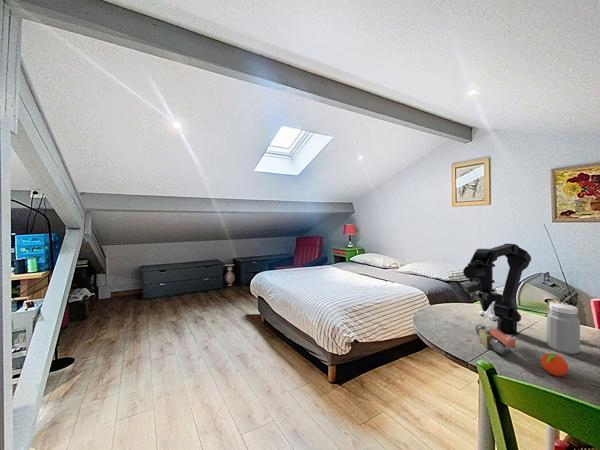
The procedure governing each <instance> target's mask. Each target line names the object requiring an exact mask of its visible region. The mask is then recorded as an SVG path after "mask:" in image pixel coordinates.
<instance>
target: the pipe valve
mask: <svg viewBox="0 0 600 450" xmlns="http://www.w3.org/2000/svg"><path fill="white" fill-rule="evenodd" d="M486 327H487V326H484V325H481V324H478V325H476V326H475V327H474V328H475V329H474V331H475V334H476V335H477V336H478V342H479V341H480V342H481V343H482V344H483V345H484V346H485V347H486V348H485V347H484V346H483V345H482V344H481V343H480V342H479V343H480V344H481V345H482V346H483V347H484V348H485V349H487V348H489V350H494V351H495V352H496V353H497V354H500V355H502V356H508V355H509V354H510V353H511V348H509V347H507V346H506V345H505V344H504V343H502V342H501V341H500V340H498V339H497V338H496V337H494V336H493V335H492V334H490V333H487V332H486V331H485V328H486Z"/></svg>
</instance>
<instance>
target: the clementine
mask: <svg viewBox="0 0 600 450" xmlns="http://www.w3.org/2000/svg"><path fill="white" fill-rule="evenodd" d="M540 364H541V366H542V368H543V369H544V371H545V372H547V373H548V374H550V375H553V376H556V377H561V376H564V375H566V374H567V373H568V371H569V366H568V363H567V361H566V360H565V359H564V358H563V357H562V356H560V355H558V354H557V353H550V352H549V353H545V354H544V355H542V356H541V358H540Z"/></svg>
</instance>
